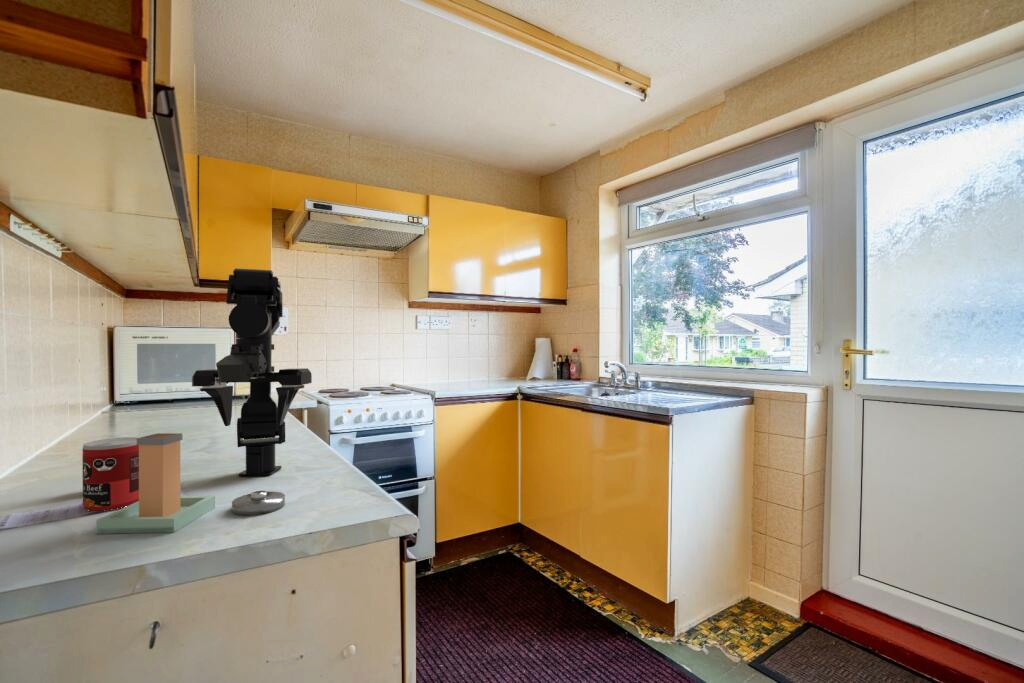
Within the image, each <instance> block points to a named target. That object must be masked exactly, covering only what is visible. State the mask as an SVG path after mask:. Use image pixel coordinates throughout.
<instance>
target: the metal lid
mask: <svg viewBox="0 0 1024 683" xmlns="http://www.w3.org/2000/svg"><path fill="white" fill-rule="evenodd" d="M284 506H286V496H285V494H284V493H283V492H280V491H266V490H257V491H252V492H251V493H247V494H244V495H241V496H238V497H236V498H234V499H233V500H232V501H231V513H232V514H233V515H234V516H235V515H236V516H243V517H245V516H246V517H250V516H252V515H253V516H260V515H259V514H261V515H266V514H270V513H273V511H274V512H276V511H279V510H280V509H281V510H282V508H283V507H284ZM269 512H270V513H269ZM265 513H266V514H265Z"/></svg>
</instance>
